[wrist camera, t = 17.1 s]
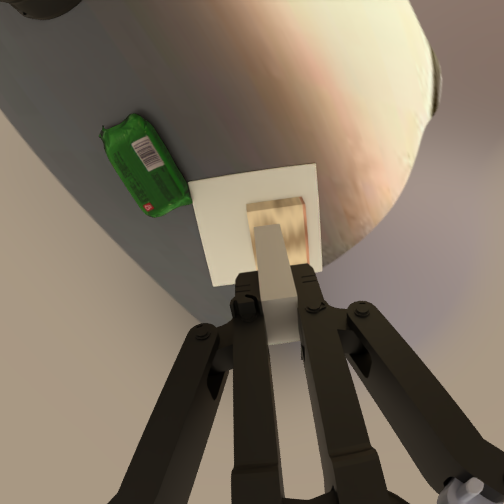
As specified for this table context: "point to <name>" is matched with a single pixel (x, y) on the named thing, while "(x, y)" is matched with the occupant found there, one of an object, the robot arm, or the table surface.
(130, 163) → the snack package
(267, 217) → the oak slab
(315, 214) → the cream board
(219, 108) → the table surface
